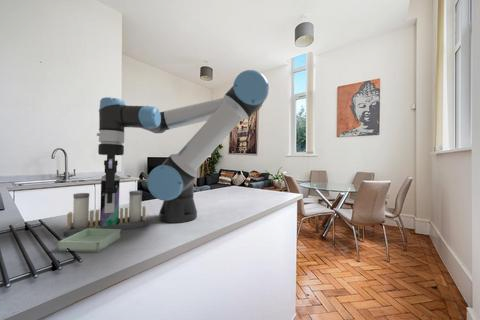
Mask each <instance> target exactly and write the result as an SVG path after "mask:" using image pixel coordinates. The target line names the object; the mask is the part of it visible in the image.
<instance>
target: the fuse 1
mask: <svg viewBox="0 0 480 320" xmlns="http://www.w3.org/2000/svg"><path fill="white" fill-rule="evenodd" d="M72 196H73V197H72V198H73V207H72V208H73V209H72V211H73V212H72V223H73V229H82V228H89V227H88V221H89V217H90V211H89V210H90V206H89V205H90V192H77V193H73V195H72Z"/></svg>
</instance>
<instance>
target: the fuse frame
mask: <svg viewBox="0 0 480 320" xmlns="http://www.w3.org/2000/svg"><path fill="white" fill-rule="evenodd" d="M128 208H129V207H124V208H123V207H121V208H120V207H119V224H117V225H108V226H100V219H99V218H100V209H97V210H90V211H89V220H88V228H95V229H121V231H122V230H129V229H139V228H146V227H147V225H148V223H147V219H146V210H147V209H146V206H142V208H141V222H135V223H129V209H128ZM94 211H95V213H94ZM94 215H95V216H94ZM94 217H95V219H94ZM66 218H67V221H66V224H67V225H66V228H65V230H64V231H63V238H64V237H65V238H67V237H70V236H72V235H74V234H76V233H78V232H81V231H83V230H85V229H87V228H82V229H73V212H72V211H71V212H70V211H69V212H68V213H67V217H66Z"/></svg>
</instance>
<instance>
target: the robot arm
mask: <svg viewBox="0 0 480 320" xmlns="http://www.w3.org/2000/svg"><path fill="white" fill-rule="evenodd" d="M269 87H270V86H269V82H268V80H267V77H266V76H265V75H264V74H263V73H262V72H261V71H260V72H259V71H258V70H255V69H247V70H244V71H241V72H239V74H238V75H237V76H236V77H235V79H234V81H233V85H232V86H231V87H230V88H229V90H227V92H226V93H225V94H224V95H223V97H221V98H216V99H213V100H212V99H211V100H208V101H207V100H206V101H203V102H199V103H194V104H190V105H185V106H182V107H176V108H173V109H168V110H164V111H160V110H159V108H158V107H156V106H150V105H126V103H125V101H124V100H123V99H121V98H117V97H111V96H110V97H108V96H107V97H105V96H104V97H102V98H101V99H100V100H99V109H98V113H99V114H98V117H99V120H98V121H99V122H98V126H99V128H98V132H97V133H96V136H97V137H98V142H99V144H98V150H97V151H98V152H97V153H98V155H100V156H106V160H104V161H103V165H104V173H105V175H106V183H105V192H103V194H105V213H113V212H114V200H115V193H114V192H115V189H114V181H115V174H117V172H118V171H117V170H118V169H117V167H118V165H119V163H118V161H119V160H116V156H123V155H124V154H125V152H124V151H125V149H124V148H125V146H124V145H123V144H124V143H125V128H137V129H138V128H139V129H143V130H146V131H149V132H151V133H154V134H163V133H165V132H166V131H168V130H172V129H178V128H181V127H186V126H191V125H194V124H198V123H203V122H205V123H204V124H203V125H202V126H201V127H200V128H199V130H198V131H197V132H195V134H194V135H193V136H192V137H191V139H190V140H189V141H187V143H186V144H185V145H184V146H183V147H182V148H181V150H179V152H178V153H173V154H170V155H169V156H168V157H167V158H166V159H165V161H164V162H163V163H162V164H160V165H157V166H156V167H154V168H153V169H152V170H151V171H150V172H149V173H148V176H147V189H148V191H149V192H150V194H151V195H152V196H153V197H154V198H155V199H157V200H160V201H163V202H162V204H161V207H160V210H159V213H158V219H159V221H160V222H161V221H162V222H165V223H176V224H177V223H178V224H179V223H186V222H191V221H194V220H196V219H197V218H198V209H197V206H196V203H195V200H194V192H195V191H194V188H195V186H194V185H195V179H196V178H197V176H198V174H197V173H198V172H197V170H198V169H199V168H200V167H201V166H202V165H203V163H204V162H205V161H206V160H207V159H208V158H209V157H210V156H211V155H212V154H213V152H215V150H216V149H217V148H218V146H219V145H221V143H222V142H223V141H224V140H225V139H226V138H227V137H228V136H229V135H230V133H231V132H232V131H234V129H235V128H236V127H237V126H238V124H239V123H240V122H241V121H242V120H243V121H244V120H249V119H250V118H251V117H252V115H253V114H255V113H256V112H258V111H259V110H260V109H261V108H262V106H263V105H264V102H265V101H266V100H267V98H268V95H269V91H270V90H269V89H270V88H269Z"/></svg>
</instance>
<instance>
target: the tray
mask: <svg viewBox="0 0 480 320" xmlns="http://www.w3.org/2000/svg"><path fill="white" fill-rule="evenodd" d="M121 237H122V230H121V229H95V228H90V227H88V228H87V229H85V230H83V231H81V232H78V233H76V234H74V235H72V236H66V237H65V238H63V239H61V240H59V241H58V246H57V249H58V250H57V251H58V252H66V251H67V248H71V249H72V250H73V251H75V252H74V253H99V252H101V251H103V250H104V249H105V248H107V247H108V246H110V245H111V244H113V243H114V242H115V243H116V241H118V240H119V239H121Z"/></svg>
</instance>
